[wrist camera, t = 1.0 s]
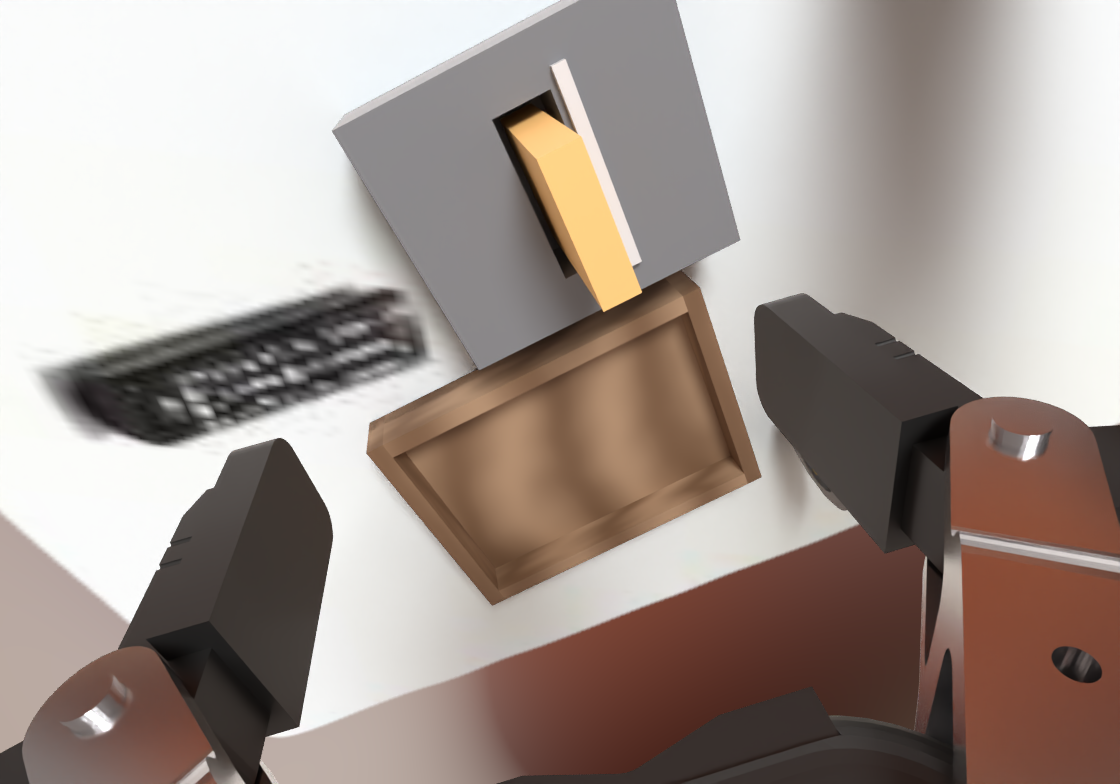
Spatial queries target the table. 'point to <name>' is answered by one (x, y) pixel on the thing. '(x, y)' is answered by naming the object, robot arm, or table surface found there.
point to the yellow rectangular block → (572, 203)
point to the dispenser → (501, 186)
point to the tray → (572, 441)
